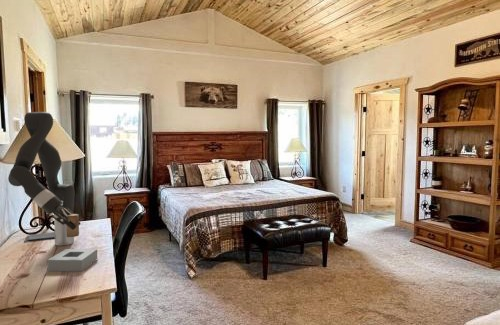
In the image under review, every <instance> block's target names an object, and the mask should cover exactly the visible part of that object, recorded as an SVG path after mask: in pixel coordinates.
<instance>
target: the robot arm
mask: <svg viewBox="0 0 500 325" xmlns="http://www.w3.org/2000/svg"><path fill="white" fill-rule="evenodd" d="M23 117H24V118H23V120H24V124H25V128H26V129H27V132H28V134H29V136H30V137H29V138H28V139H27V140H26V141H25V142H24V143H23V144H21V145H20V148H19V149H18V152H17V155H16V157H15V161H14V164H13V165H12V166H13V167H12V168H11V169H10V171H9V174H8V178H7V179H8V183H9V184H10V185H12V186H13V187H22V188H23V190H24V194H26V196H28V197H29V198H30V199H31V200H32V201H33V202H34V203H35V204H36V205H37V206H38V207H40V209H42V210H43V211H44V212H45V213H47V214H48V215H51V214H53V215H52V216H51V218H52V219H54V232H55V239H54V245H55V246H61V247H62V246H68V245H72V244H74V242H75V237H67V228H66V224H67V226H69V227H70V228H71V229H72V230H74V229H75V228H76V227H77V226H76V225H75V224H74V223H73V222H72V221H70V220H69V218H68V215H71V214H75V213H74V208H75V196H76V194H75V188H74V186H73V184H67V183H66V184H63V183H62V184H60V182H59V179H58V175H59V172H60V170H61V167H62V160H61V159H62V158H61V156H60V152H59V151H58V149H57V148H56V147H55V146H54V145H53V144H52V143H50V141H48V140H47V139H46V138H47V137H48V135H49V134H50V132H51V130H52V128H53V126H54V118H53V116H52V114H51V113H50V112H48V111H33V112H31V111H30V112H27V113H25V115H24V116H23ZM37 156H38V159H39V161H40V165H41V168H42V170H43V172H44V176H45V179H46V183H47V187H48V188H46V187H45V186H44V185H43V184H42V183H41V182H40V181H39V180H38V178H37V177H36V176H35V175H34V174H33V173H32V171H31V169H32V168H33V167H32V166H33V165H34V162H35V160H36V157H37ZM80 225H81V222H80V221H79V226H80Z"/></svg>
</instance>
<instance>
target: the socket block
mask: <svg viewBox="0 0 500 325" xmlns="http://www.w3.org/2000/svg"><path fill="white" fill-rule="evenodd" d="M96 259H97V260H98V248H97V249H96V248H65V249H63V250H62V251H61V252H59V253H57V254H54V255H53V256H52V257H50V258H47V260H46V262H47V266H46V267H47V272H83V271H84V270H85V269H86V268H88V267H90V266H91V265H92V264H93V263H95V262H96V261H97V260H96ZM95 260H96V261H95ZM92 262H93V263H92ZM91 263H92V264H91ZM90 264H91V265H90Z"/></svg>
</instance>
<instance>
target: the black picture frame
mask: <svg viewBox="0 0 500 325" xmlns="http://www.w3.org/2000/svg"><path fill="white" fill-rule="evenodd" d="M51 240H55V231H54V232H46V233H37V234H36V233H35V234H29V235H27V236H26V237H25V239H24V240H23V243H25V244H26V243H33V242H42V241H51Z"/></svg>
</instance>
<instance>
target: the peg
mask: <svg viewBox="0 0 500 325" xmlns="http://www.w3.org/2000/svg"><path fill="white" fill-rule="evenodd" d="M79 215H80V214H79V213H78V214H77V213H74V214H71V215H68V218H69V220H70V221H72V222H73V223H74V224H75V225H76V226H77V227H76V228H75V229H74V230H72V229H71V228H70V227H69V226H67V224H66V228H67V237H74V238H75V237H79V236H80V225H79V222H80V221H79V220H80V218H79Z"/></svg>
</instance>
